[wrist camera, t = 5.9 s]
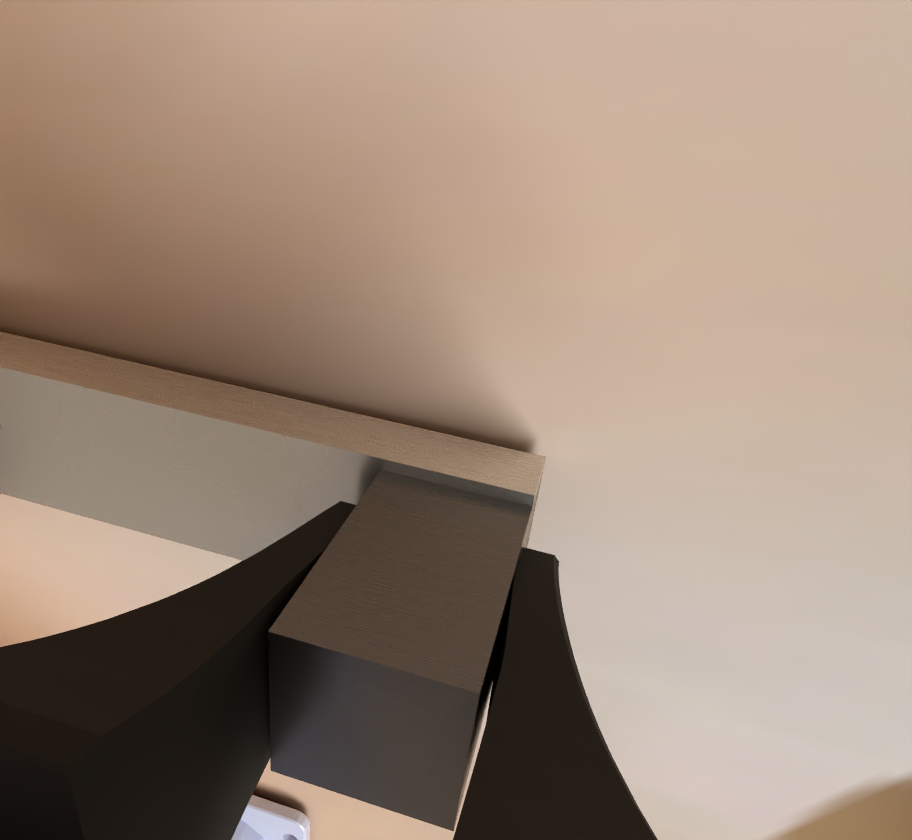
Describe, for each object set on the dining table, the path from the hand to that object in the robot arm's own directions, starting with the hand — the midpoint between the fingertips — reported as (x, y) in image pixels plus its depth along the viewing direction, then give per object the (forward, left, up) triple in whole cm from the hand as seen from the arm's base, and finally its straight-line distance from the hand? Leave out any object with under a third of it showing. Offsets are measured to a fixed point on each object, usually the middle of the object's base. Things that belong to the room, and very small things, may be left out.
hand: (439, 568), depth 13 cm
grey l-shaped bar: (0, +10, -2) cm, 11 cm away
